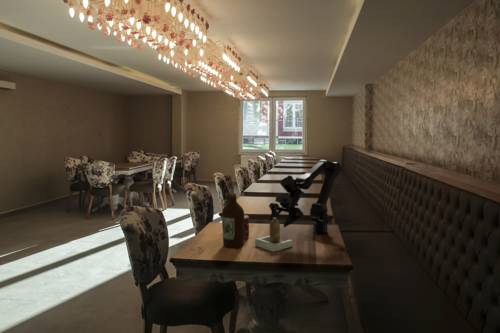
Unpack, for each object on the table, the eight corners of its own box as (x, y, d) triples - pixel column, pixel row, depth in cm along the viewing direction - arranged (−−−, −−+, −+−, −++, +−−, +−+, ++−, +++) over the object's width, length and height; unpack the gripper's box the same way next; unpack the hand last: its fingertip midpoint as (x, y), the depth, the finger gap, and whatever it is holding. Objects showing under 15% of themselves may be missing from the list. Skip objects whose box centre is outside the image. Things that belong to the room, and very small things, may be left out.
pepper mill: (280, 244, 186) (280, 216, 185) (279, 247, 181) (279, 219, 180) (270, 243, 187) (270, 216, 186) (268, 246, 182) (268, 218, 181)
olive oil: (230, 241, 192) (230, 191, 189) (248, 244, 186) (248, 193, 183) (217, 246, 183) (216, 194, 180) (235, 250, 177) (235, 196, 175)
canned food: (236, 240, 193) (235, 218, 192) (232, 235, 201) (232, 214, 200) (250, 238, 195) (250, 217, 194) (246, 234, 203) (246, 214, 202)
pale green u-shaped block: (273, 240, 192) (273, 233, 192) (292, 246, 183) (292, 239, 183) (255, 245, 184) (255, 238, 184) (273, 251, 175) (273, 244, 175)
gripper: (271, 186, 193) (254, 211, 187) (299, 191, 179) (282, 218, 173) (282, 199, 199) (267, 224, 193) (310, 205, 185) (294, 232, 179)
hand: (277, 224), depth 184 cm, fingers open, 9 cm apart
